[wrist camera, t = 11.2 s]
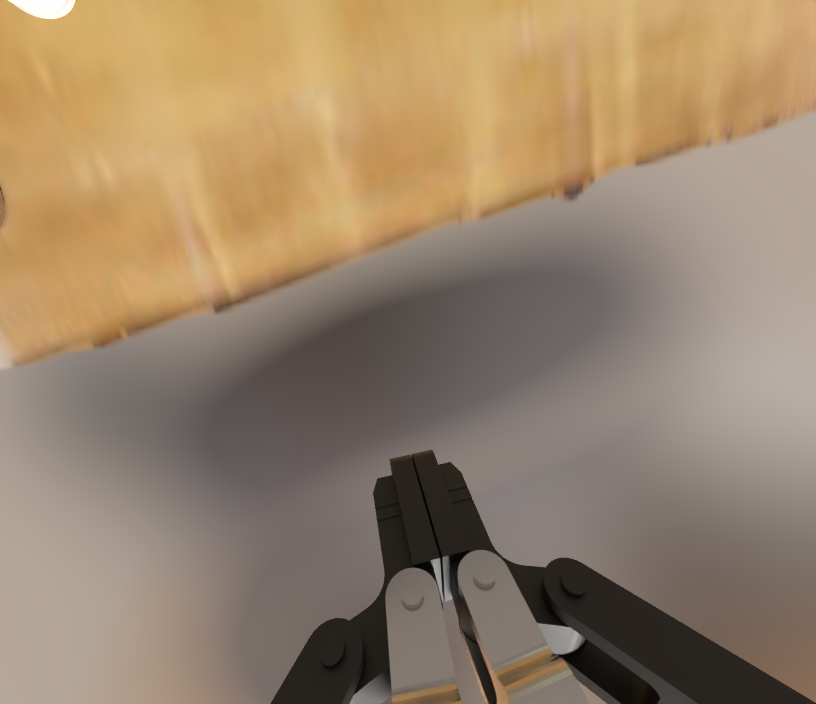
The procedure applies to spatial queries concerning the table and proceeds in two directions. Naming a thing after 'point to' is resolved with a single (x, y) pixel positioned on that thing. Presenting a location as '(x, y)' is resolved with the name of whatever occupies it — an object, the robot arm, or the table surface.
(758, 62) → the table surface
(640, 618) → the robot arm
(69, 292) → the table surface
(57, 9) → the chess piece
